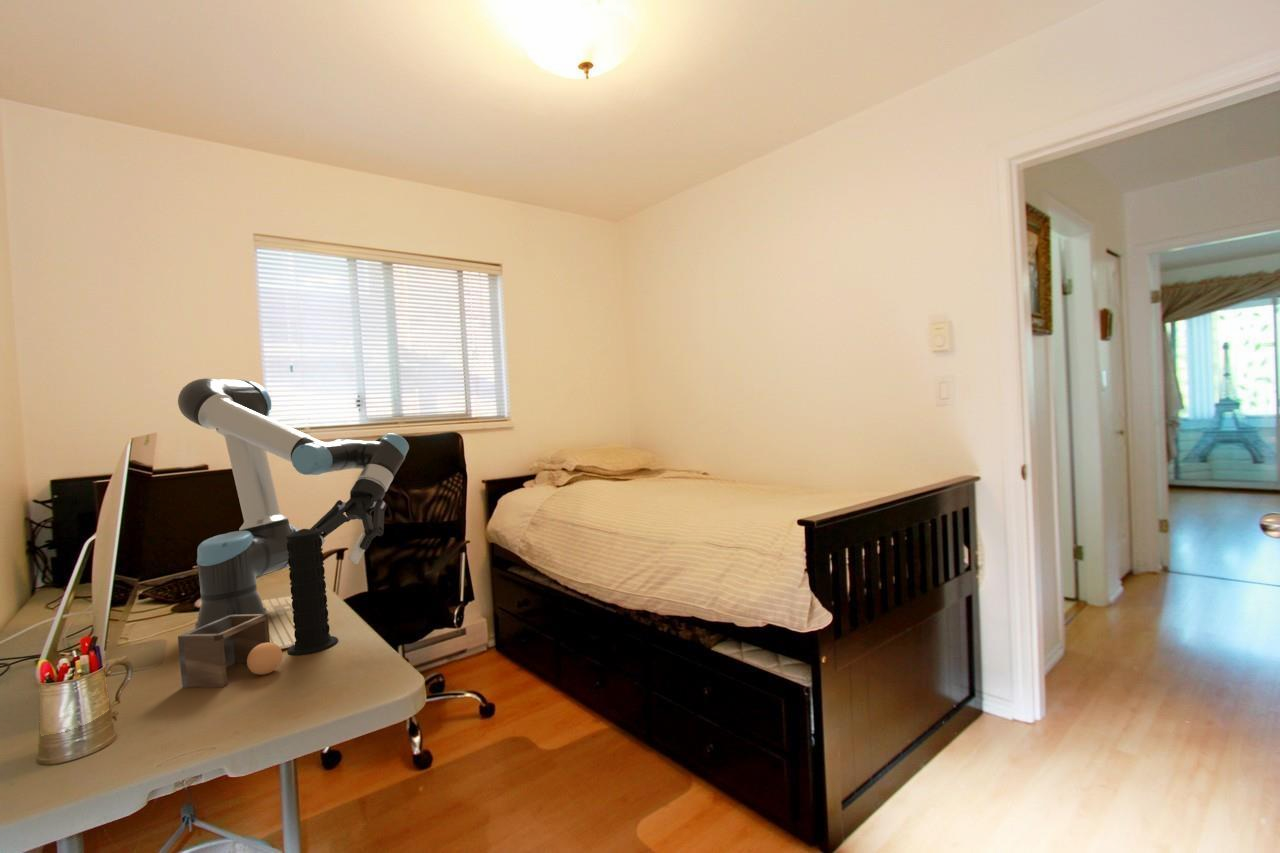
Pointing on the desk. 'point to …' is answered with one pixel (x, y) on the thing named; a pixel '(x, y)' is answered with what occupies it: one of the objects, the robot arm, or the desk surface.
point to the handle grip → (308, 593)
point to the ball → (264, 658)
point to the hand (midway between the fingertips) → (329, 561)
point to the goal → (219, 648)
